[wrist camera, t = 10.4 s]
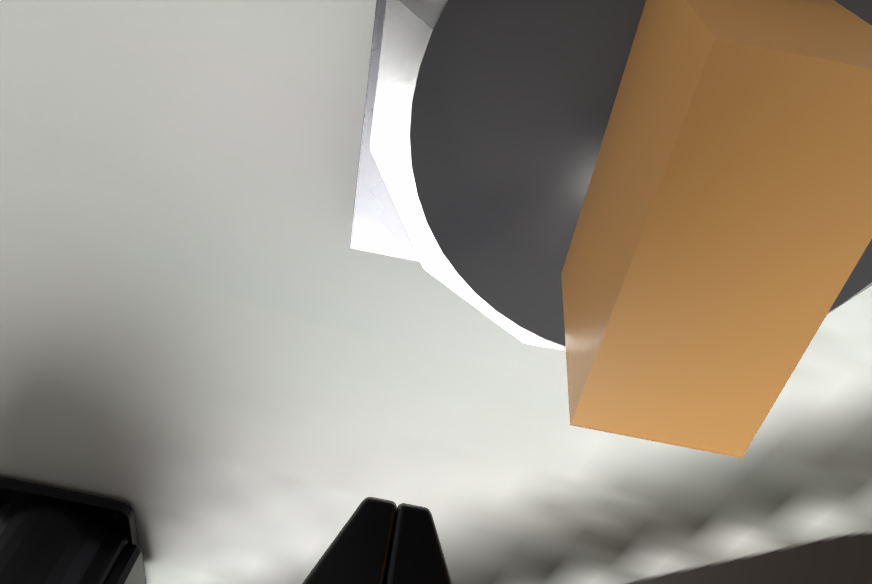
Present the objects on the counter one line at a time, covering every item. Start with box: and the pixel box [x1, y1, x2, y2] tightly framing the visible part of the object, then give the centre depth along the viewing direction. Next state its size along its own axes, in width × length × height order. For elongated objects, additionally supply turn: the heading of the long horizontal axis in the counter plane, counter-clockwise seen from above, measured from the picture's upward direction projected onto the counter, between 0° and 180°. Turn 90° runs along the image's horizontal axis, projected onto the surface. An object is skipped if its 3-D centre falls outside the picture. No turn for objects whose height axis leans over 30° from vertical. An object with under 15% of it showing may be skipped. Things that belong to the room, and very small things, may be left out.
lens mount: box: [350, 0, 872, 352], centre depth 15 cm, size 12×12×5 cm
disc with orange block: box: [410, 0, 872, 458], centre depth 12 cm, size 9×9×7 cm
